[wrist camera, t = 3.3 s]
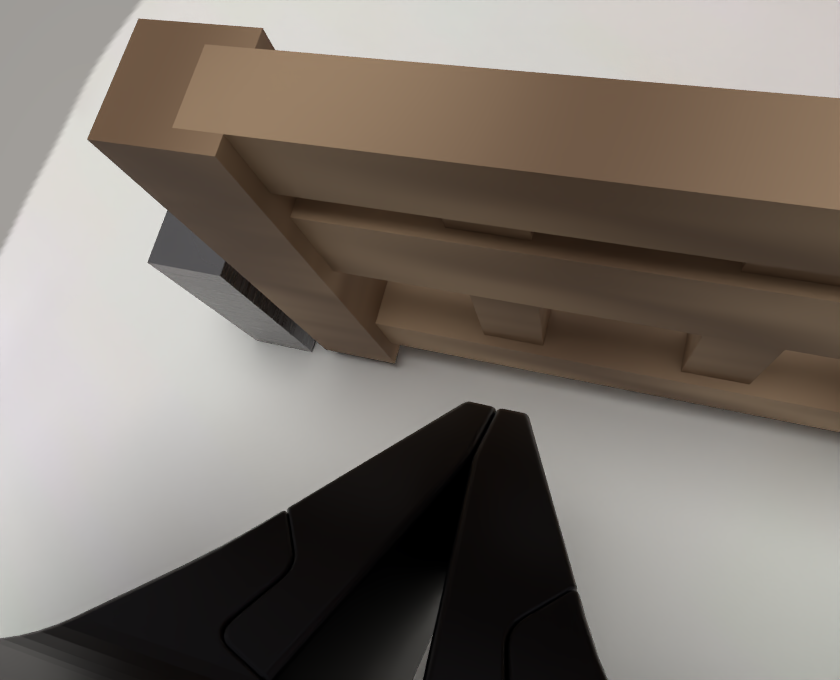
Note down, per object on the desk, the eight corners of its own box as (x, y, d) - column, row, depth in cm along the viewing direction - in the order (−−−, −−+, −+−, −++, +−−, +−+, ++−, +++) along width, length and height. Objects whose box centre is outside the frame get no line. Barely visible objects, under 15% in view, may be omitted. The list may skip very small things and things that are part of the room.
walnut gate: (957, 390, 14) (1556, 127, 5) (951, 478, 13) (1591, 341, 5) (346, 281, 17) (138, 18, 9) (325, 349, 17) (87, 139, 8)
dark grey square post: (1050, 505, 13) (1850, 413, 5) (255, 340, 18) (-16, 146, 10) (1052, 424, 14) (1795, 213, 5) (275, 281, 18) (30, 47, 10)
